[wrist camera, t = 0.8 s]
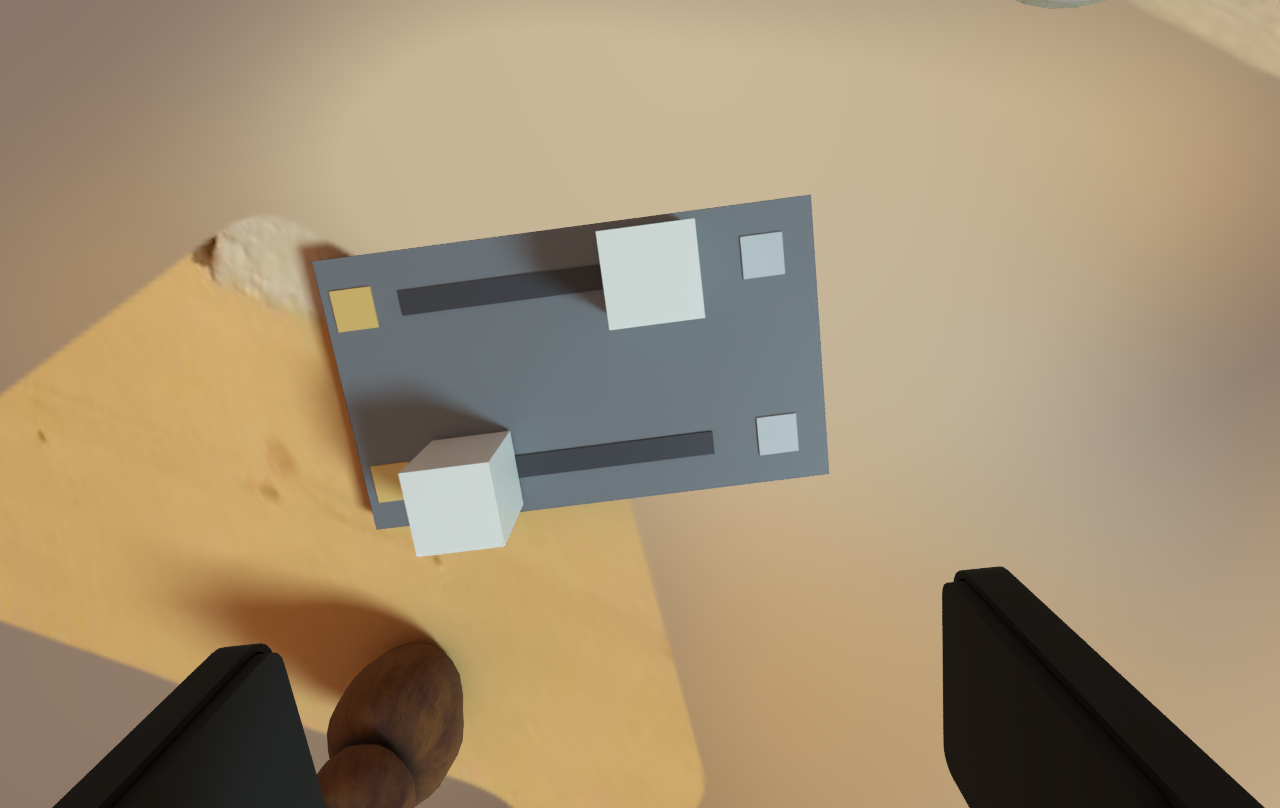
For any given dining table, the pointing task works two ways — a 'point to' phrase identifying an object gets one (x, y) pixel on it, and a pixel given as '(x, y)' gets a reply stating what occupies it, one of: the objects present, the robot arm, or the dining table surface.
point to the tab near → (651, 274)
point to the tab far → (462, 494)
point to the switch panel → (586, 361)
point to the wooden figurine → (394, 731)
